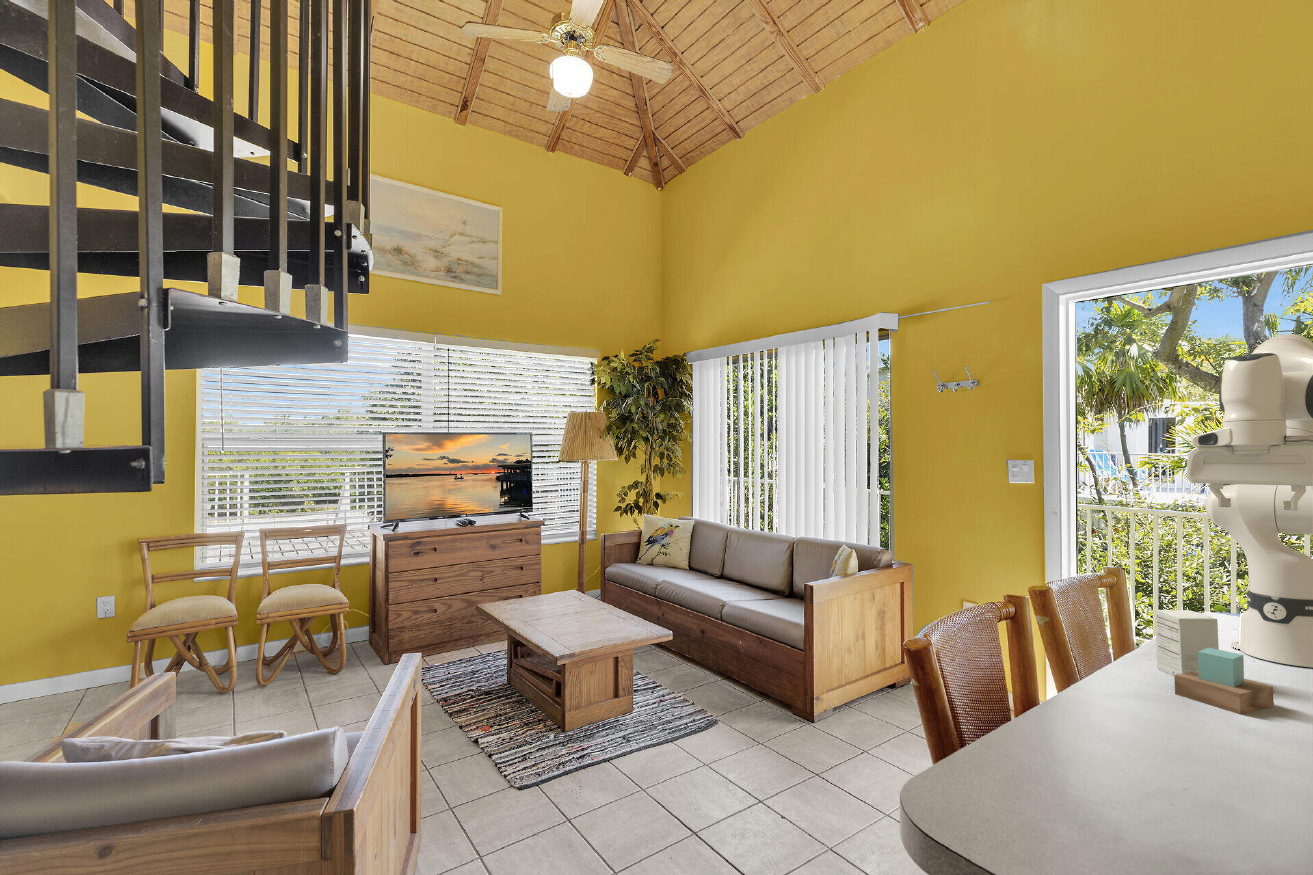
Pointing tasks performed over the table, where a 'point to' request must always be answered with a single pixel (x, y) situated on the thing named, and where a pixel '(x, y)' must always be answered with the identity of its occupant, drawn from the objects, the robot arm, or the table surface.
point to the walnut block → (1225, 693)
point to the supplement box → (1183, 639)
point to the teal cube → (1221, 667)
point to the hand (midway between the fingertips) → (1256, 508)
